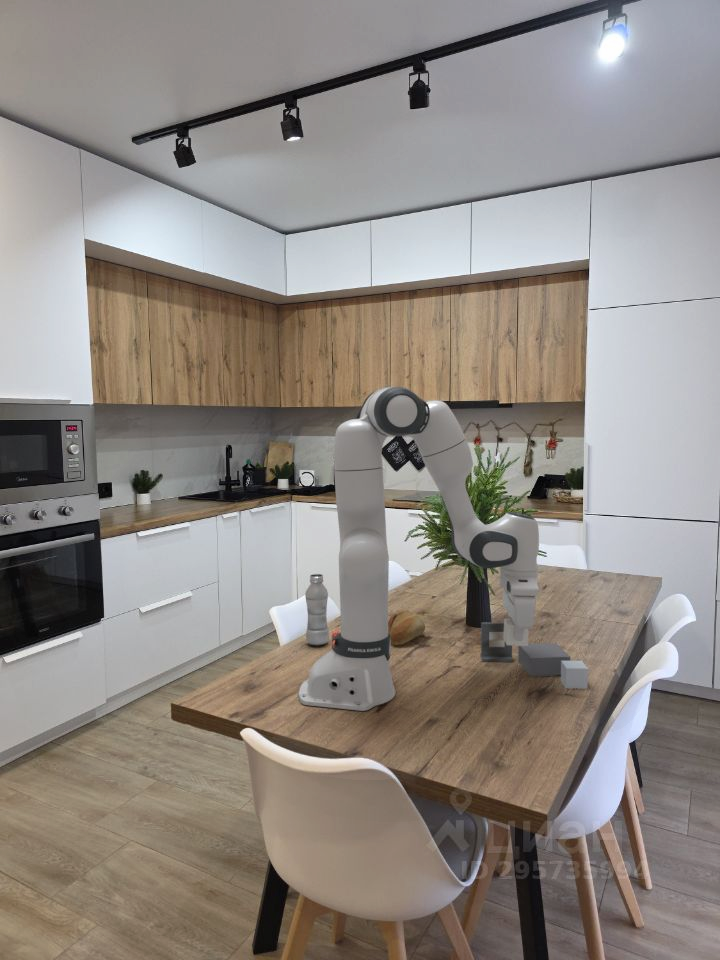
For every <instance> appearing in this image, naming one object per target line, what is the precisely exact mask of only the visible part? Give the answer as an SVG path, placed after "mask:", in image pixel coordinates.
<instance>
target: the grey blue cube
mask: <svg viewBox="0 0 720 960" xmlns="http://www.w3.org/2000/svg"><path fill="white" fill-rule="evenodd" d="M588 678H589V668H588V666H587V665H586V664H585V663H584V661H583V660H570V661H561V676H560V681H561V683H562V685H563V686H564V688H565V689H567V688H568V689H569V690H570V689H573V688H575V689H576V688H577V690H578V689H579V690H580V689H583V690H585V689H586V690H587V689H588V687H589V686H588V684H589V683H588V681H589V679H588ZM568 689H567V690H568ZM573 690H574V689H573Z"/></svg>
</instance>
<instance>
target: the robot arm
mask: <svg viewBox="0 0 720 960" xmlns="http://www.w3.org/2000/svg"><path fill="white" fill-rule="evenodd" d="M405 436H410V438H411V439H412V440H413V441H414V442H415V444H416V446H417V448H418V449H417V450H418V452H419V454H420V456H421V459H422V461H423V463H424V466H425V468H426V470H427V471H428V473H429V475H430V477H431V479H432V481H434V484H435V486H436V487H437V489H438V491H439V493H440V497H441V499H442V502H443V504H444V508H445V510H446V513H447V515H448V517H449V520H450V526H451V538H450V539H451V546H452V548H453V550H454V552H455V553H456V555H458V556H459V557H460V558H462V559H465V560H467V561H468V562H470V563H472V564H474V565H475V566H477V567H479V568H480V569H494V568H495V569H496V568H499V583H498V585H499V586H500V587H501V588H503V589H502V590H503V593H502V606H504V607H503V608H504V609H505V611H506V612H507V614H508V619H512V621H513V622H514V624H515V632H514V638H515V640H516V641H522V640H523V632H524V629H529V630H531V629H532V628H533V626H534V620H535V614H536V606H537V605H536V604H537V599H536V598H537V597H538V596H539V594H540V588H539V583H538V573H539V572H538V571H539V570H538V569H539V565H538V563H537V558H538V554H539V551H540V547H539V546H540V533H539V531H540V530H539V524H538V520H536V518H534V517H533V516H530V515H529V514H525V513H520V512H516V511H515V512H514V511H508V512H506V513H505V514H504V515H503V516H502V517H500V518H498V519H497V520H495V521H493V522H490V523H489V524H485V523H483V522H482V521H481V520H480V519H479V518H478V517H477V515H476V513H475V511H474V507H473V504H472V502H471V499H470V496H469V493H468V492H467V491H468V490H467V488H466V482H467V481H466V480H467V478H468V476H469V475H470V474H471V471H472V469H473V465H474V464H473V463H474V461H473V457H472V456H473V455H472V453H471V449H470V445H469V442H468V441H467V438H466V436H465V434H464V431H463V429H462V426H461V425H460V423H459V421H458V419H457V417H456V415H455V414H454V412H453V411H452V410H451V408H450V407H449V405H448V404H447V403H446V402H444V401H442V400H428V401H425V400H423V398H421V397H420V396H419V395H417V394H416V393H415V392H413V391H411V390H410V389H408V388H406V387H402V386H387V387H386V386H385V387H382V388H380V389H378V390H377V389H376V390H374V391H372V392H371V393H369V395H368V396H367V397H366V398H365V400H364V401H363V403H362V405H361V407H360V410H359V411H358V413H357V415H356V418H355V419H354V418H352V419H349V420H346V421H344V422H342V423H341V424H339V426H338V427H337V428H336V431H335V436H334V444H333V445H334V446H333V473H334V487H335V502H336V503H335V504H336V510H337V521H338V530H339V541H340V542H339V545H340V546H339V553H338V578H339V579H338V580H339V581H338V582H339V599H340V600H339V602H340V604H339V605H340V606H339V607H340V608H339V609H340V611H339V612H340V630H337V629H336V630H333V632H332V634H331V639H332V640H331V650H329V651H328V652H327V653H325V654H324V655H322V656H321V657H320V658H318V659H317V660H316V661H315V662H314V663H313V665H312V667H311V669H310V671H309V675H308V678H307V679H306V680H304V681H303V682H302V683H301V685H300V686H299V691H298V699H299V702H300V703H301V704H302V705H304V706H312V707H321V708H332V709H341V710H342V709H343V710H351V711H360V712H365V711H368V710H370V709H372V708H375V707H376V706H379V705H382V704H385V703H388V702H390V701H391V700H392V699H394V698H395V696H396V693H397V692H396V688H395V686H394V682H393V677H392V672H391V664H390V659H391V655H392V654H391V652H392V643H391V639H390V634H389V633H388V621H389V578H390V577H389V575H390V574H389V573H390V572H389V570H390V569H389V568H390V567H389V565H390V563H389V562H390V561H389V560H390V556H389V549H388V543H387V541H388V539H387V523H386V522H387V521H386V501H385V485H384V468H383V456H382V453H383V446H384V443H385V442H386V440H387V438H388V437H405Z"/></svg>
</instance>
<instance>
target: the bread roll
mask: <svg viewBox="0 0 720 960" xmlns="http://www.w3.org/2000/svg"><path fill="white" fill-rule="evenodd" d="M425 629H426V624H425V622H424V620H423V618H422V617H421V615H419V614H416V613H414V612H411V611H409V610H406V611H405V610H404V611H403V610H401V611H398V612H395V613H393V614H392V615H391V616H390V617H389V618H388V633H389V634H390V639H391V644H393V645H395V646H401V645H403V644H406V643H408V642H410V641H412V640H413V639H416V638H419V637H420V636H421V635H423V634H424V633H425Z"/></svg>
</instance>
